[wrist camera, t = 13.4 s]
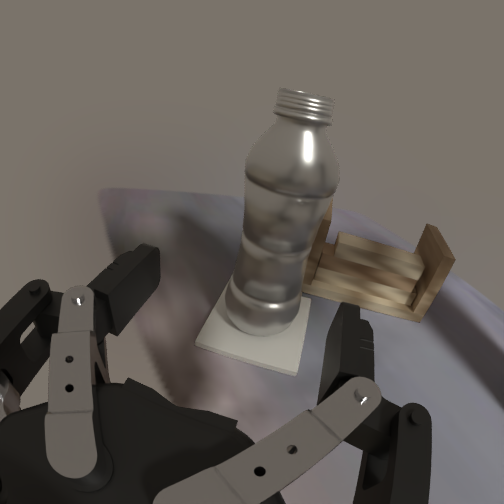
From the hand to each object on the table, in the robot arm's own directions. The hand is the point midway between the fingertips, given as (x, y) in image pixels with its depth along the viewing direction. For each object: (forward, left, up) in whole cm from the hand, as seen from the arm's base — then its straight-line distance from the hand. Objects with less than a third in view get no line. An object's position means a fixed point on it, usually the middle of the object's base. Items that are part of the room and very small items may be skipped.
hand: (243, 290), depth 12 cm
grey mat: (0, -11, -13) cm, 17 cm away
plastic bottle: (0, -11, -12) cm, 16 cm away
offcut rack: (-10, -22, -13) cm, 27 cm away
